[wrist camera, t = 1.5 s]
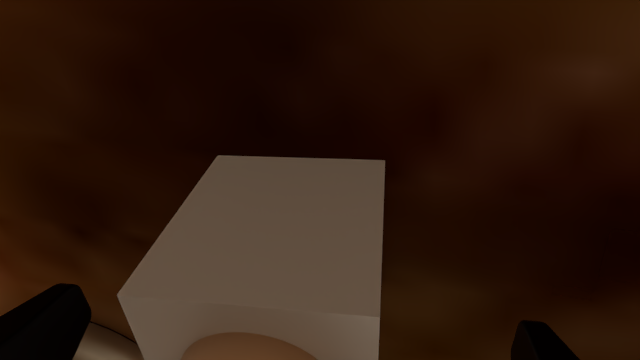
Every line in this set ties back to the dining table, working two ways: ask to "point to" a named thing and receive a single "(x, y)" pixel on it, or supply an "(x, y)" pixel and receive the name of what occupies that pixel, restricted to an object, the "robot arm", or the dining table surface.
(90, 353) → the bobbin
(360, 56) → the dining table surface
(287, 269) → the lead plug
